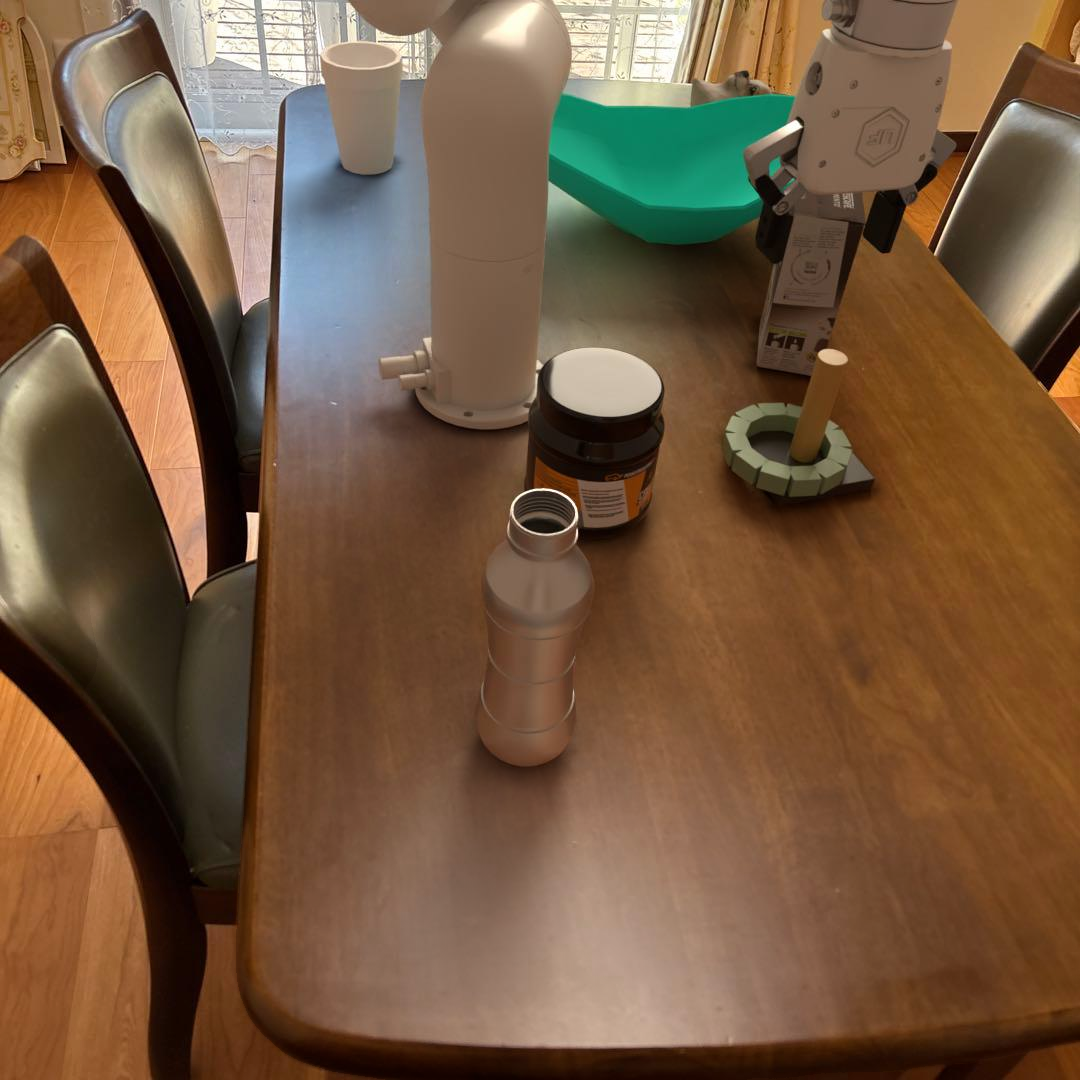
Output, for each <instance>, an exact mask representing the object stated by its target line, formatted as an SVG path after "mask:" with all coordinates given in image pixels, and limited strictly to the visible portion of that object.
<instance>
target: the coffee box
mask: <svg viewBox="0 0 1080 1080" xmlns="http://www.w3.org/2000/svg"><path fill="white" fill-rule="evenodd" d="M794 180H795V179H794ZM789 212H790V213H791V214H792V215H793V223H792V226H791V230H790V234H789V237H788V241H787V245H786V248H785V252H784V256H783V260H782V261H781V262H780V263H779V264H772V265H773V266H772V270H771V274H770V278H769V282H768V286H767V292H766V296H765V300H764V303H763V308H762V312H761V316H760V321H759V329H758V340H757V342H758V343H757V355H756V367H758V368H763V369H769V370H775V371H776V370H777V371H781V372H787V373H792V374H797V375H798V374H799V375H804V376H808V377H811V376H812V372H813V369H814V366H815V362H816V359H817V355H818V353H819V352H820V351H821V350H824V349H828V346H829V342H830V339H831V336H832V333H833V330H834V326H835V323H836V320H837V316H838V314H839V310H840V307H841V303H842V301H843V296H844V293H845V290H846V287H847V284H848V280H849V278H850V274H851V271H852V268H853V264H854V261H855V257H856V255H857V252H858V248H859V245H860V241H861V238H862V236H863V230H864V227H865V224H866V216H865V205H864V197H863V192H861V193H847V194H831V195H818V194H813V193H811V192H809V191H807V192H806V193H805V194H804V195H803V196H802V197H801V198H800V199H799V200H798V202H797V203H796V204H795V205H794V206H793V207H792V208H791V209H790V210H789Z"/></svg>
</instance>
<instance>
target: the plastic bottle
mask: <svg viewBox="0 0 1080 1080" xmlns="http://www.w3.org/2000/svg"><path fill="white" fill-rule="evenodd" d="M577 523H578V511H577V507H576V505H575V503H574V502H573V501H572V500H571V499H570V498H569V497H568V496H566V495H564V494H563V493H561V492H558V491H555V490H551V489H533V490H529V491H526V492H524V491H523V492H522V493H520V494H519V495H518V496H516V497H515V498H514V500H513V501H512V503H511V507H510V509H509V521H508V523H507V527H506V538H505V539H504V540H503V541H502V542H501V543H500V544H499V545H497V547H496V548H494V550H493V551H492V553H491V554H490V555H489V557H488V559H487V561H486V564H485V566H484V568H483V570H482V574H481V578H480V579H481V581H480V584H481V599H482V604H483V611H484V616H485V622H486V630H487V631H486V632H487V634H486V635H487V636H486V637H487V659H486V660H487V661H486V666H485V673H484V678H483V681H482V683H481V687H480V689H479V692H478V696H477V700H476V704H475V720H476V721H475V722H476V726H477V730H478V734H479V737H480V740H481V742H482V743H483V745H484V747H485V748H486V749H487V751H489V752H490V754H491V755H492V756H494V757H495V758H497V759H498V760H500V761H502V762H504V763H506V764H508V765H512V766H516V767H524V768H526V767H527V768H528V767H536V766H540V765H543V764H546V763H548V762H551V761H552V760H554V759H555V758H557V757H559V755H560V754H561V753H562V752H563V751H564V750H565V749H566V747H567V745H568V743H569V741H570V739H571V738H572V734H573V733H574V730H575V727H576V723H577V702H576V697H575V689H574V671H575V669H574V666H575V665H574V664H575V660H576V657H577V655H576V654H577V650H578V647H579V642H580V638H581V634H582V632H583V628H584V627H585V623H586V621H587V618H588V615H589V613H590V610H591V606H592V603H593V598H594V594H595V580H594V576H593V572H592V567H591V564H590V562H589V561H588V559H587V557H586V555H585V554H584V553H583V551H582V550H581V548H580V547H579V546H578V545H577V544H578V538H579V537H578V529H577Z"/></svg>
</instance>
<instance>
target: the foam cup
mask: <svg viewBox="0 0 1080 1080" xmlns="http://www.w3.org/2000/svg"><path fill="white" fill-rule="evenodd" d="M319 60H320V73H321V77H322V79H323V81H324V86H325V90H326V96H327V99H328V101H327V102H328V105H329V110H330V115H331V120H332V124H333V129H334V134H335V139H336V144H337V149H338V153H339V159H340V163H341V165H342V167H343V169H345V170H346V171H348V172H350V173H352V174H358V175H363V176H364V175H365V176H366V175H378V174H382V173H385V172H387V171H389V170H390V169H392V167H393V165H394V162H393V161H394V156H395V145H396V136H397V135H396V134H397V126H398V125H397V124H398V115H399V114H398V112H399V102H400V93H401V82H402V80H403V77H404V68H403V65H404V64H403V54H402V53H401V52H400V51H399V50H398V49H397V48H395V47H393V46H391V45H387V44H385V43H381V42H374V41H364V40H362V41H360V40H358V41H357V40H354V41H353V40H352V41H351V40H350V41H344V42H337V43H334V44H331V45H328V46H326V47H324V48H323V49H322V50H321V52H320V54H319Z"/></svg>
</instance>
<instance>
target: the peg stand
mask: <svg viewBox="0 0 1080 1080" xmlns="http://www.w3.org/2000/svg"><path fill="white" fill-rule="evenodd" d="M848 361H849V359H848V356H847V355H846V354H845V353H844V352H842V351H840V350H837V349H833V348H827V349H824V350H821V351H820V352H819V353H818V355H817V359H816V362H815V366H814V369H813V372H812V376H810V380H809V383H808V387H807V389H806V393H805V396H804V400H803V403H802V406H801V407H802V410H801V413H800V416H799V420H798V423H797V426H796V430H795V433H794V434H792V433H789V432H785V431H761V432H759V433H757V434H755V435H753V436H751V437H749V438H747V439H748V441H749V443H750V445H751V448H752V449H754V450H755V451H756V452H758V453H759V454H761V455H762V456H763V457H765V458H766V459H767V460H770V461H773V462H777V463H780V464H783V465H787V466H790V467H792V466H813V465H815V464H816V463H818V462H820V461H822V460H824V459H825V458H824V456H823V455H822V453H821V451H820V446H821V443H822V440H823V437H824V434H825V430H826V427H827V424H828V421H829V420H830V417H831V415H832V412H833V409H834V405H835V403H836V399H837V396H838V394H839V393H838V392H839V390H840V387H841V384H842V381H843V377H844V374H845V371H846V368H847V365H848ZM874 482H875V477H874V476H873V475H872V474H871V472H870V471H869V470H868V469H867V467H866V466H865V465H864V463H862V462H861V461H860V459H859V458H858V457H857V456H856V455H855V454H854V452H853V451H852V453H851V456H850V460H849V463H848V466H847V469H846V472H845V475H844V477H843V480H842V482H841V481H840V484H839V485H837V486H836V487H834V488H832V489H830V490H828V491H826V492H825V493H823V494H820V493H818V492H817V495H816V496H794V497H789V495H788V493H787V491H786V492H785V495H784V496H782V495H779V494H775V493H772V492H769V491H767V492H768V494H769V496H770V497H771V498H772V499H773V501H774V502H775V504H776V505H777V506H778V507H781V506H785V505H793V504H797V503H803V502H809V501H813V500H820V499H824V498H830V497H835V496H842V495H847V494H852V493H857V492H863V491H869V490H872V488H873V485H874Z"/></svg>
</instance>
